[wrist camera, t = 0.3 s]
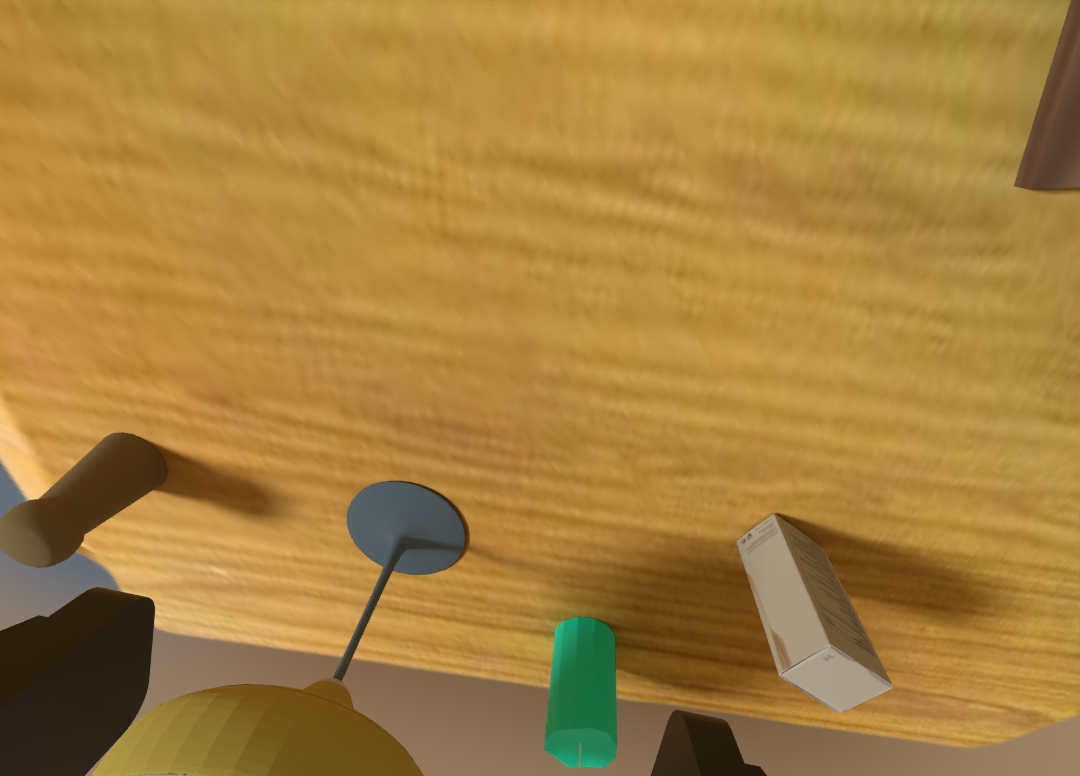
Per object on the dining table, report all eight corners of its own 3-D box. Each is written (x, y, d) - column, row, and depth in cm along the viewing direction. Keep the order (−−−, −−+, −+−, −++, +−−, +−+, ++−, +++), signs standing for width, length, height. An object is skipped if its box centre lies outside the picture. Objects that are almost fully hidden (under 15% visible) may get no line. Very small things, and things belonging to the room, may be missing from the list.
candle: (547, 619, 53) (533, 748, 43) (609, 614, 52) (610, 746, 42) (561, 659, 56) (550, 791, 45) (620, 656, 55) (623, 790, 44)
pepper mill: (180, 469, 49) (76, 561, 40) (143, 498, 51) (36, 591, 42) (123, 421, 47) (-1, 504, 38) (87, 452, 49) (-38, 539, 40)
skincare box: (733, 540, 46) (772, 674, 36) (774, 510, 45) (827, 642, 34) (787, 578, 48) (840, 718, 37) (828, 550, 46) (896, 690, 35)
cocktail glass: (548, 535, 48) (499, 902, 26) (425, 626, 56) (307, 972, 34) (382, 405, 44) (157, 717, 22) (272, 522, 51) (21, 844, 29)
